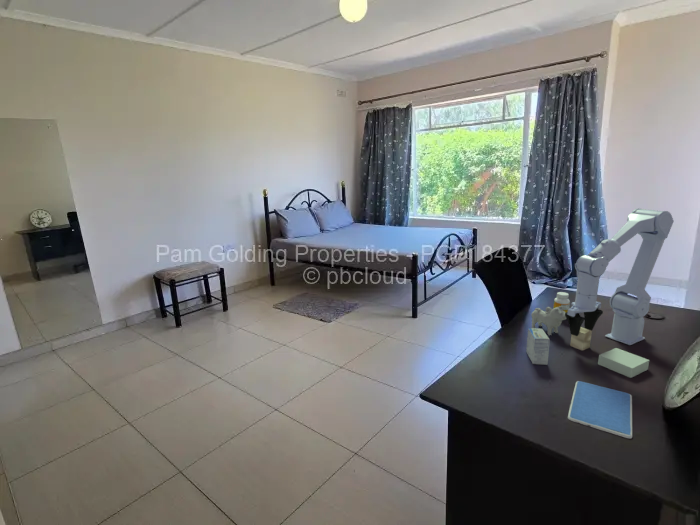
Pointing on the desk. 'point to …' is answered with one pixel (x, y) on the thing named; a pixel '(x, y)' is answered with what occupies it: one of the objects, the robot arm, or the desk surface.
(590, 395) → the tablet computer
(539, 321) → the white animal figurine
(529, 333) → the medicine box
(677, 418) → the desk surface
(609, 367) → the sage base block
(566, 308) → the supplement bottle
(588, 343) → the maple block
